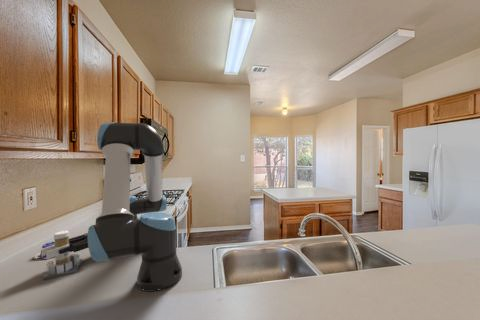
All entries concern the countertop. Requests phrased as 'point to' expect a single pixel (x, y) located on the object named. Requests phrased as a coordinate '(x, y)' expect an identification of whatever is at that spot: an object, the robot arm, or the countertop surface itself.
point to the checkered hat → (45, 247)
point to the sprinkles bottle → (61, 240)
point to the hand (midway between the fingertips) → (44, 253)
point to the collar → (63, 267)
